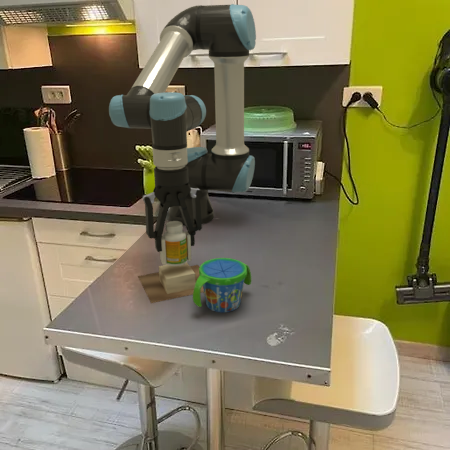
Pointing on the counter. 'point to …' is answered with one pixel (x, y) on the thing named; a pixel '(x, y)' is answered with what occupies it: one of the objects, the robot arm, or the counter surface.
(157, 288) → the board
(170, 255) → the supplement bottle
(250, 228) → the counter surface
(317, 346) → the counter surface
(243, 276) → the snack cup
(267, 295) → the counter surface
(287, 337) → the counter surface
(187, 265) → the birch block
